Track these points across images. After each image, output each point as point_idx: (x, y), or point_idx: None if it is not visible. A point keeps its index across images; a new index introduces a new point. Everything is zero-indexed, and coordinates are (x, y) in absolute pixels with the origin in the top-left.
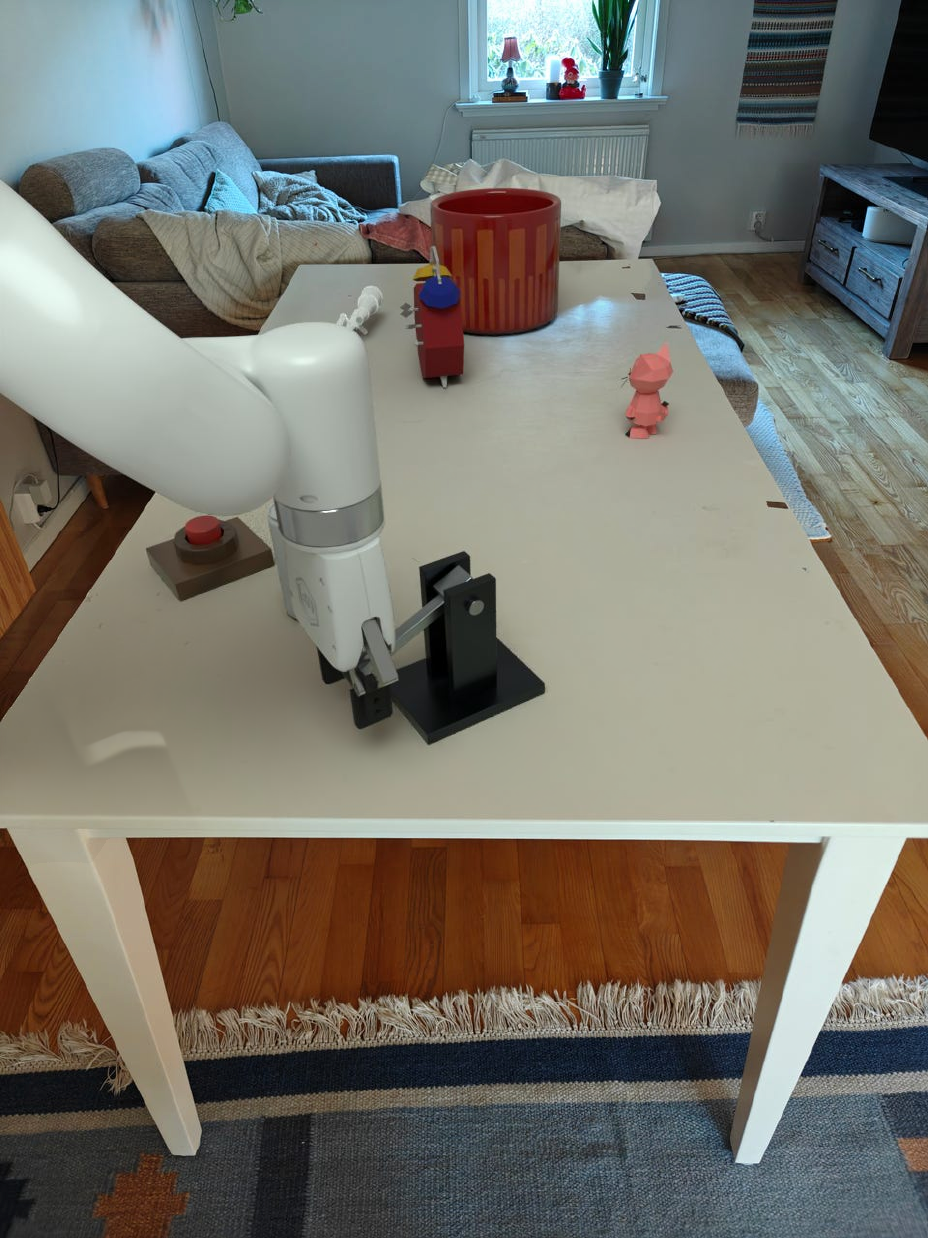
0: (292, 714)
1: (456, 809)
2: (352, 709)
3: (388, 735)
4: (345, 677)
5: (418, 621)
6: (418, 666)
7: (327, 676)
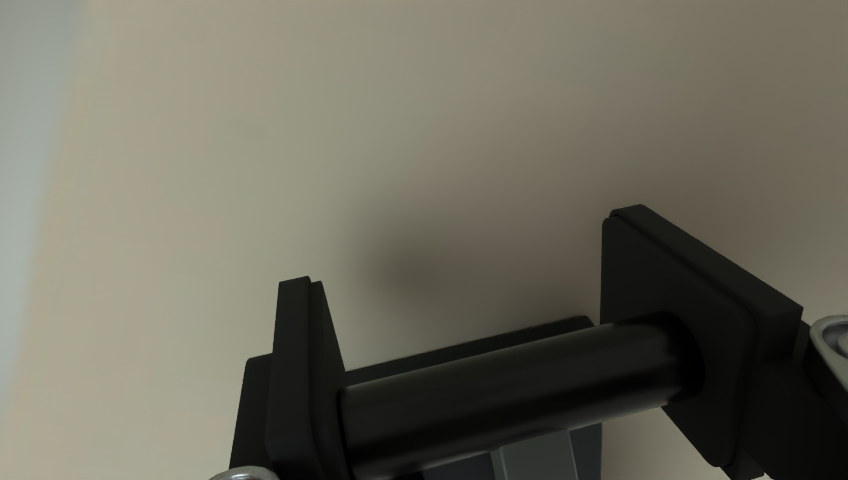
0: (623, 27)
1: (14, 403)
2: (305, 330)
3: (385, 294)
4: (517, 358)
5: None
6: (580, 431)
7: (628, 241)
